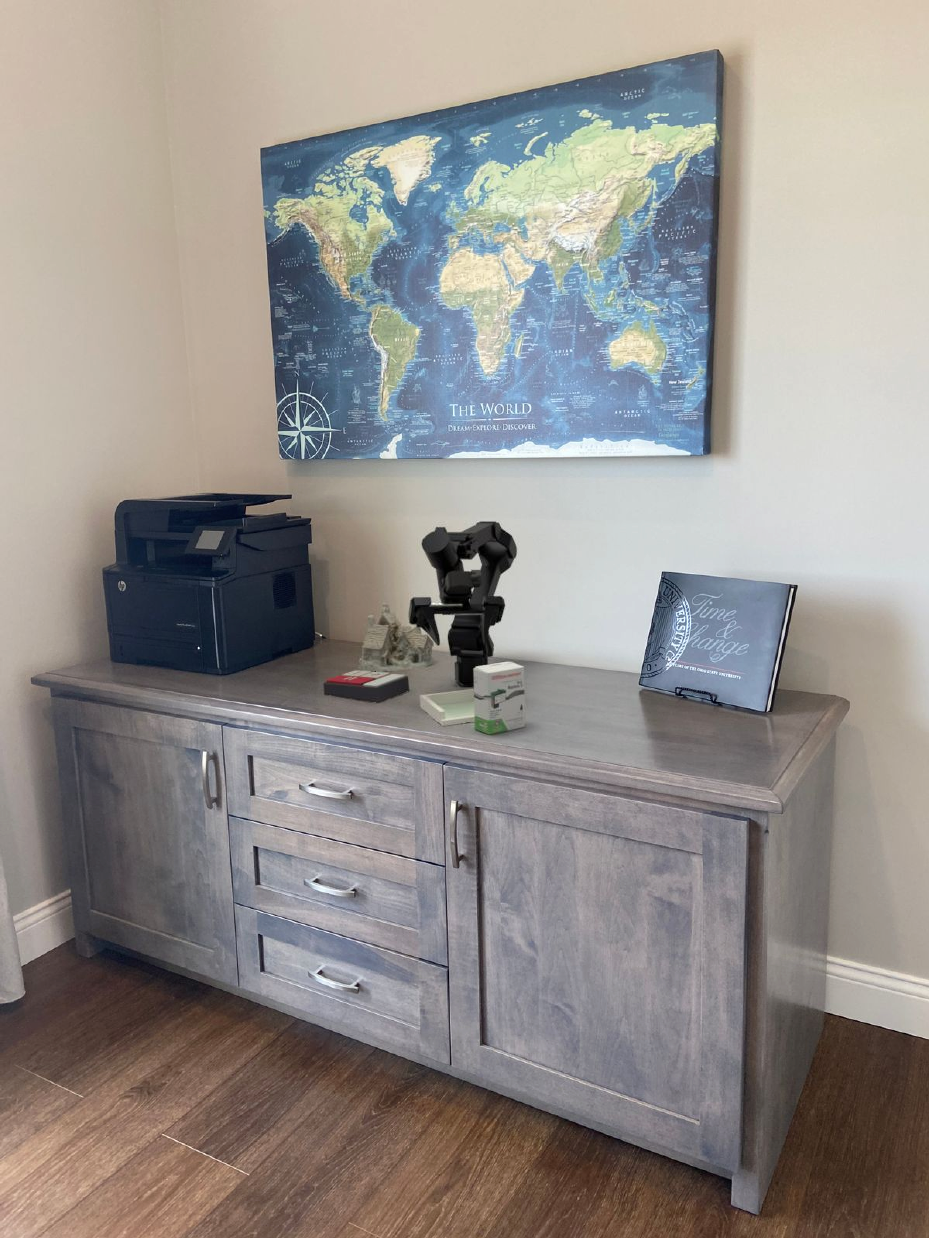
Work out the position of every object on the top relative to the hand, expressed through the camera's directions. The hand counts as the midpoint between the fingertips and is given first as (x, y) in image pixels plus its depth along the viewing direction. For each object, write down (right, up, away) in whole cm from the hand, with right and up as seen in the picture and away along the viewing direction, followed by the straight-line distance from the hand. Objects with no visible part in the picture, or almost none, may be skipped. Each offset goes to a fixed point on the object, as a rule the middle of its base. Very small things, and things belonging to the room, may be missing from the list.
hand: (462, 643), depth 180 cm
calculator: (-21, -12, +20) cm, 31 cm away
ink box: (+7, -16, -7) cm, 19 cm away
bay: (0, -14, +4) cm, 14 cm away
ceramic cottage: (-16, -7, +45) cm, 48 cm away
